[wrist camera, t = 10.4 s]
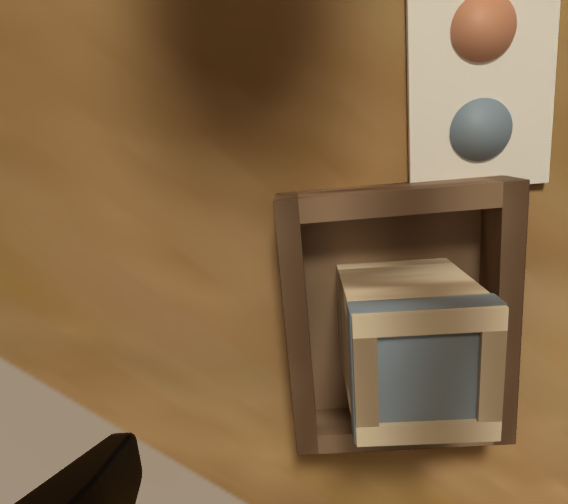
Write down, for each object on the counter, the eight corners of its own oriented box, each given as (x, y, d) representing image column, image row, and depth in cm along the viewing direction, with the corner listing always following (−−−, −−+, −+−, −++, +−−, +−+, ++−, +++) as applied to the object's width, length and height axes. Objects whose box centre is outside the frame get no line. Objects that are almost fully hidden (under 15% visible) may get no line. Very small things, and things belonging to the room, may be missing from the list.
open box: (297, 420, 23) (297, 455, 20) (276, 193, 20) (273, 201, 17) (491, 409, 22) (515, 444, 19) (499, 174, 19) (529, 179, 17)
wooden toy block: (339, 363, 21) (355, 448, 15) (335, 263, 20) (350, 315, 14) (445, 357, 21) (501, 442, 15) (447, 256, 19) (510, 306, 14)
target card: (408, 193, 19) (411, 194, 19) (405, -31, 17) (407, -35, 17) (544, 182, 19) (549, 182, 19) (559, -48, 17) (565, -53, 16)
